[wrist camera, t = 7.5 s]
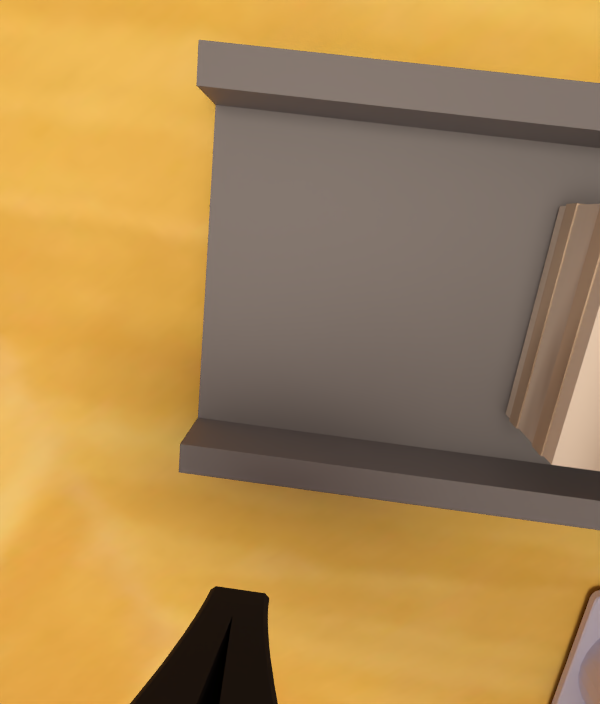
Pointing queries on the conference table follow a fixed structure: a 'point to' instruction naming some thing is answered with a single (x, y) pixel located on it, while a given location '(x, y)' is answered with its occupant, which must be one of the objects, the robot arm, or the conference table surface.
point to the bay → (383, 276)
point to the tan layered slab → (564, 347)
